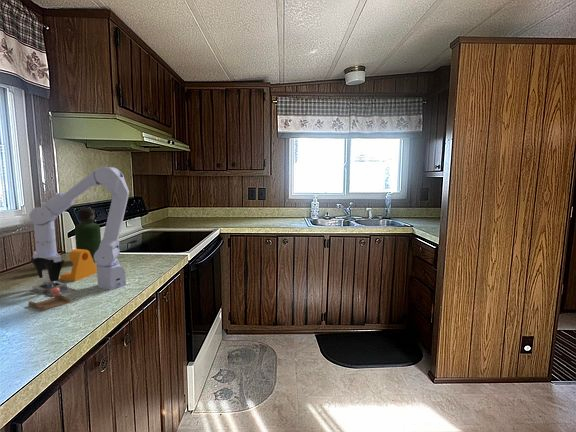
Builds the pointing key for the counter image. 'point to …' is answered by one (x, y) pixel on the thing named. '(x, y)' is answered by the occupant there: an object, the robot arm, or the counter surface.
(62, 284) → the socket block
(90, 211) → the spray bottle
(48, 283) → the steel round bar
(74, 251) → the bracket
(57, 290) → the button
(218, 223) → the counter surface
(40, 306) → the brown piece
